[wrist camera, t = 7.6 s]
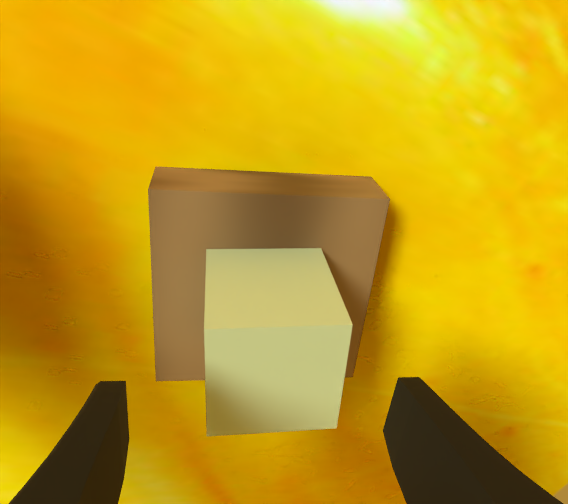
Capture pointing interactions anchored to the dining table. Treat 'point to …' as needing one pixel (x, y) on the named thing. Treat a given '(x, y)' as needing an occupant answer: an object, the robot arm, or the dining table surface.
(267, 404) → the pale yellow block
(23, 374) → the dining table surface
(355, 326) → the walnut pedestal
